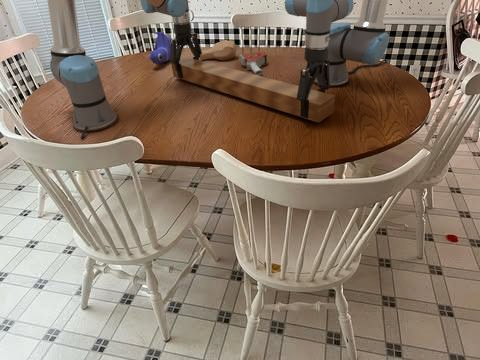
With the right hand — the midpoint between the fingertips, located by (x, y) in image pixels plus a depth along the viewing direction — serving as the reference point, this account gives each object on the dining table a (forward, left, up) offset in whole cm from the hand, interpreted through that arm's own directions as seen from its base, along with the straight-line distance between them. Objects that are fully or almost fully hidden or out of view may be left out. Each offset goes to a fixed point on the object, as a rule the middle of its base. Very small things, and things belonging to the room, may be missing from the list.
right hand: (312, 111), depth 126 cm
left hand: (-7, -67, 0) cm, 67 cm away
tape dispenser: (-33, -48, -2) cm, 59 cm away
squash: (-36, -73, -2) cm, 82 cm away
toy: (-17, -95, -2) cm, 97 cm away
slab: (-3, -33, -1) cm, 33 cm away
